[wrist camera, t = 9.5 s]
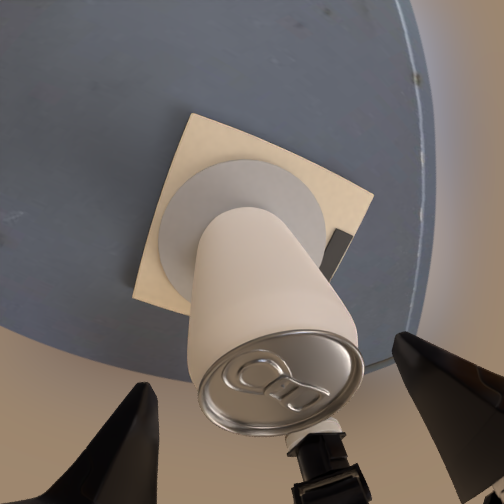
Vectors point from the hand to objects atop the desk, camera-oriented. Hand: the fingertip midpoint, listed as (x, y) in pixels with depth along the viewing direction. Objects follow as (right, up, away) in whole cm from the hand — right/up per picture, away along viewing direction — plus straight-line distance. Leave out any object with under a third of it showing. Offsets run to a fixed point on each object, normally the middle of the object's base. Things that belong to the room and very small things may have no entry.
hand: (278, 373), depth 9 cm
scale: (-1, +5, +12) cm, 13 cm away
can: (-1, +4, +10) cm, 11 cm away
